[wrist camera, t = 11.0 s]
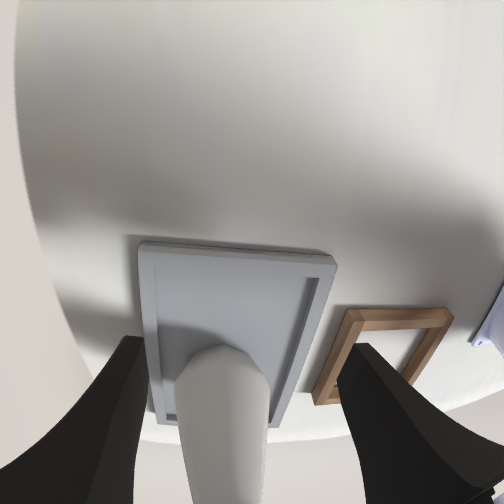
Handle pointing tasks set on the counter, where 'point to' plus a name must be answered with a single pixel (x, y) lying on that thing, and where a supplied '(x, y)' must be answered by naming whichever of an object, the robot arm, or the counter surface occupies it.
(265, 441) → the salt shaker
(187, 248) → the grey tray
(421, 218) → the counter surface
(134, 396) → the robot arm
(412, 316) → the walnut collar
